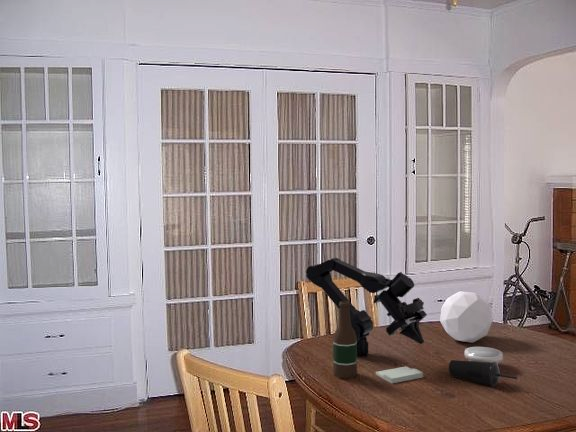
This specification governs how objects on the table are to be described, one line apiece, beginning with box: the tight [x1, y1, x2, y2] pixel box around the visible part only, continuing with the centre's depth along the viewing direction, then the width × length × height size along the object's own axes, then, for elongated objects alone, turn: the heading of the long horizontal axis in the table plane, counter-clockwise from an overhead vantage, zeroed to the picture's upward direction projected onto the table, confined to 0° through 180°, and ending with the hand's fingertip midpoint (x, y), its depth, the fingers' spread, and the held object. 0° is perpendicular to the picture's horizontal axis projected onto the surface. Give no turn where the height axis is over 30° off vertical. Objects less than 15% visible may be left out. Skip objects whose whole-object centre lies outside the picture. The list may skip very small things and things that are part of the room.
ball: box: [439, 290, 494, 343], centre depth 217 cm, size 19×20×20 cm
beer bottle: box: [332, 301, 358, 380], centre depth 182 cm, size 8×8×24 cm
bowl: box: [464, 346, 504, 365], centre depth 188 cm, size 12×12×5 cm
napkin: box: [375, 366, 424, 384], centre depth 181 cm, size 12×9×2 cm
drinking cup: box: [448, 359, 518, 388], centre depth 174 cm, size 8×8×20 cm
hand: (422, 343), depth 186 cm, fingers closed
